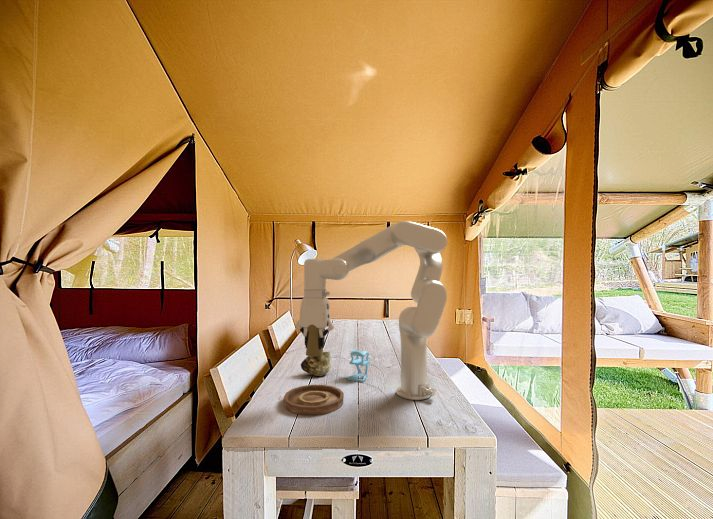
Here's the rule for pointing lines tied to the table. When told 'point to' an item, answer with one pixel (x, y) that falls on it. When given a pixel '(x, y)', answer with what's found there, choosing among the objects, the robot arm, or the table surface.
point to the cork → (313, 342)
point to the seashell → (317, 364)
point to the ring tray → (313, 399)
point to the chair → (359, 362)
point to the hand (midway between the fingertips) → (314, 347)
